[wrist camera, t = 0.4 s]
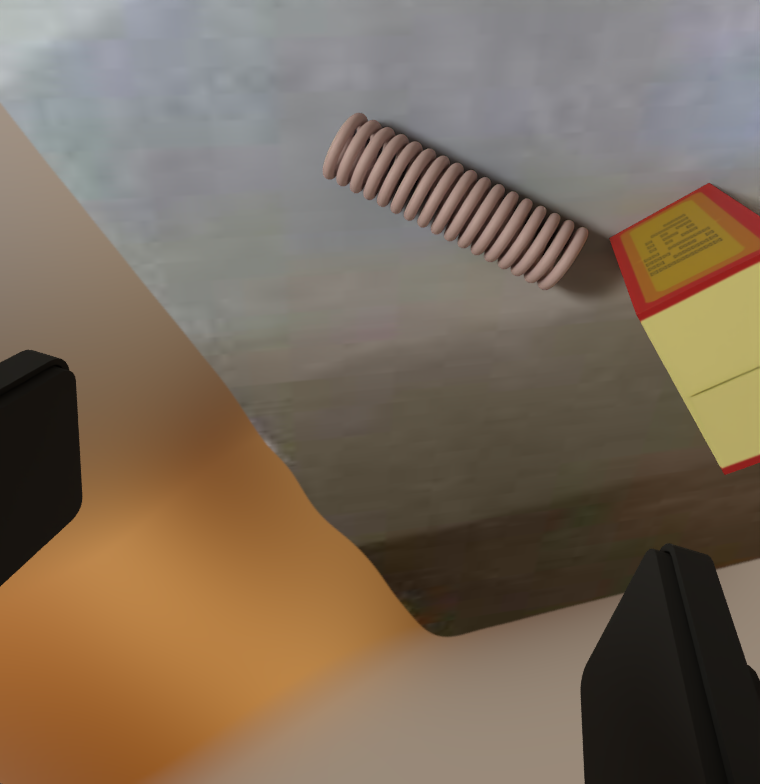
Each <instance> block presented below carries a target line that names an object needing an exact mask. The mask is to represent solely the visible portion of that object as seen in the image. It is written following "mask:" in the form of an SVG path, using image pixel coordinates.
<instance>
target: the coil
mask: <svg viewBox="0 0 760 784" xmlns="http://www.w3.org/2000/svg"><path fill="white" fill-rule="evenodd" d="M356 129H357V133H356V134H355V136H354V137H353V135H354V131H355V130H356ZM369 137H370V142H369V144H368V145H367V147H366V148H365V146H366V142H367V139H368V138H369ZM383 144H384V145H383ZM382 146H383V150H382V153H381V154H380V156H379V158H378V160H377V161H376V159H377V156H378V152H379V150H380V148H381V147H382ZM364 149H365V150H364ZM396 153H397V154H396ZM395 154H396V158H395V161H394V164H393V166H392V167H391V169H390V171H389V173H388V175H387V177H386V178H385V176H386V174H387V171H388V168H389V165H390V162H391V160H392V159H393V157H394V156H395ZM375 162H376V163H375ZM408 163H409V165H408ZM374 164H375V165H374ZM407 165H408V168H407V171H406V174H405V177H404V179H403V180H402V182H401V184H400V186H399V188H398V190H397V192H396V194H395V196H394V198H393V201H392V203H391V211H392V212H393V213H395V214H398V213H400V212H401V210H402V209H403V207H404V205H405V203H406V201H407V198H408V196H409V194H410V192H411V189H412V188H413V186H414V184H415V182H416V181H417V179H418V177H419V176H420V178H419V181H418V183H417V186H416V188H415V191H414V193H413V195H412V197H411V199H410V201H409V203H408V205H407V207H406V209H405V212H404V217H405V219H406V220H408V221H411V220H413V219H414V218H415V216H416V214H417V212H418V210H419V208H420V206H421V204H422V202H423V200H424V199H425V197H426V195H427V193H428V192H429V190H430V188H431V190H430V192H429V195H428V197H427V200H426V202H425V205H424V207H423V209H422V211H421V214H420V216H419V218H418V220H417V223H418V225H419V226H420V227H426V226H427V225H428V224H429V222H430V220H431V218H432V217H433V215H434V213H435V211H436V210H437V208H438V206H439V204H440V203H441V204H440V206H439V209H438V211H437V214H436V216H435V218H434V221H433V223H432V225H431V231H432V233H434V234H439V233H441V232H442V230H443V229H444V227H445V225H446V224H447V222H448V220H449V219H450V220H449V223H448V225H447V227H446V230H445V233H444V237H445V239H446V240H447V241H453V240H454V239H455V238H456V237H457V235H458V234H459V232H460V231H461V232H460V234H459V237H458V245H459V247H461V248H466V247H468V246H469V245H470V244H471V242H472V241H473V242H472V245H471V251H472V253H473V254H474V255H480V254H481V253H483V252H484V250H485V253H484V257H485V259H486V261H488V262H493V261H495V260H496V259H497V258H498V266H499V267H500V268H501V269H507V268H508V267H510V266H511V272H512V274H513V275H515V276H520V275H522V274H524V278H525V280H526V281H527V282H529V283H534V282H536V281H537V283H538V286H539V288H541V289H542V290H548V289H550V288H551V287H553V286H554V285H555V284H556V283H557V282H558V281H559V280H560V279H561V278H562V277H563V276H564V274H565V273H566V272H567V270H568V269H569V268H570V266H571V265H572V263H573V262H574V260H575V259H576V257H577V256H578V254H579V252H580V251H581V249H582V247H583V246H584V244H585V242H586V240H587V237H588V230H587V229H586V228H585V227H580V228H578V229H577V230H576V232H575V233H574V234H573V236H572V238H571V239H570V241H569V243H568V244H567V246H566V248H565V250H564V252H563V254H562V257H561V259H560V260H559V262H558V263H557V264H556V266H555V267H554V268H553V266H554V263H555V261H556V259H557V257H558V255H559V254H560V252H561V251H562V249H563V248H564V246H565V244H566V243H567V241H568V239H569V238H570V236H571V234H572V232H573V230H574V222H573V221H571V220H566V221H564V222H563V224H562V225H561V227H560V228H559V230H558V232H557V233H556V235H555V237H554V239H553V241H552V243H551V245H550V247H549V248H548V250H547V251H546V253H545V254H544V255H543V257H542V254H543V252H544V250H545V248H546V246H547V244H548V241H549V240H550V238H551V236H552V235H553V233H554V231H555V230H556V228H557V226H558V224H559V222H560V215H559V214H557V213H552V214H550V216H549V217H548V219H547V220H546V222H545V224H544V226H543V227H542V229H541V231H540V232H539V234H538V236H537V237H536V239H535V240H534V242H533V243H532V241H533V239H534V236H535V234H536V232H537V230H538V228H539V226H540V224H541V222H542V220H543V219H544V217H545V215H546V208H545V207H544V206H538V207H536V209H535V210H534V211H533V213H532V215H531V216H530V218H529V220H528V221H527V223H526V225H525V226H524V228H523V229H522V227H523V225H524V223H525V221H526V219H527V217H528V215H529V213H530V211H531V208H532V205H533V203H532V201H531V200H530V199H524V200H522V201H521V203H520V204H519V206H518V207H517V209H516V210H515V212H514V214H513V211H514V209H515V207H516V205H517V202H518V198H519V196H518V194H517V193H516V192H513V191H511V192H509V193H508V194H507V195H506V197H505V198H504V200H503V201H502V199H503V196H504V193H505V188H504V186H502V185H501V184H497V185H495V186H494V187H493V188H492V189H491V191H490V187H491V181H490V179H489V178H487V177H483V178H481V179H480V180H479V181H478V182H477V173H476V172H475V171H474V170H469V171H467V172H465V173H464V174H463V171H464V169H463V166H462V165H461V164H460V163H454V164H452V165H451V166H450V161H449V158H448V157H446V156H440V157H438V158H437V159H436V153H435V151H434V150H433V149H426V150H424V151H423V148H422V145H421V144H420V143H419V142H416V141H414V142H411V143H409V140H408V138H407V137H406V136H405V135H403V134H399V135H397V136H395V133H394V130H393V129H391V128H389V127H384V128H383V129H382V128H381V125H380V123H379V122H378V121H376V120H370V121H368V119H367V117H366V116H365V115H364V114H362V113H356V114H354V115H352V116H351V117H349V118H348V119H347V120H346V121H345V123H344V124H343V125H342V127H341V128H340V130H339V131H338V133H337V135H336V136H335V138H334V140H333V142H332V144H331V146H330V148H329V150H328V153H327V155H326V158H325V161H324V165H323V175H324V177H325V178H327V179H333V178H334V177H336V176H337V177H336V178H337V183H338V184H339V185H340V186H346V185H347V184H349V182H350V181H351V182H350V189H351V191H352V192H354V193H359V192H360V191H362V189H363V188H364V186H365V188H364V197H365V198H366V199H367V200H372V199H373V198H375V196H376V195H377V193H378V191H379V189H380V187H381V185H382V183H383V181H384V183H383V185H382V187H381V189H380V191H379V194H378V197H377V203H378V205H379V206H381V207H385V206H387V205H388V203H389V202H390V200H391V198H392V196H393V194H394V192H395V190H396V187H397V185H398V183H399V180H400V178H401V175H402V173H403V171H404V170H405V168H406V166H407ZM420 174H421V175H420ZM384 178H385V180H384ZM476 182H477V183H476ZM365 184H366V185H365ZM489 191H490V192H489ZM441 201H442V202H441ZM501 201H502V203H501ZM512 214H513V215H512ZM511 216H512V217H511ZM450 217H451V218H450ZM521 229H522V231H521ZM531 243H532V245H531ZM530 245H531V246H530ZM529 247H530V248H529ZM541 257H542V258H541ZM540 259H541V260H540ZM552 268H553V270H552Z"/></svg>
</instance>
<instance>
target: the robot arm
mask: <svg viewBox="0 0 760 784" xmlns="http://www.w3.org/2000/svg"><path fill="white" fill-rule="evenodd" d="M81 503H82V483H81V464H80V446H79V429H78V412H77V394H76V379H75V376H74V374H73V373H72V372H71V371H69V367H68V365H67V363H66V362H65V361H64V360H62V359H59V358H56V357H53V356H50V355H47V354H43V353H40V352H37V351H33V350H25V351H22V352H20V353H18V354H16V355H14V356H12V357H10V358H8V359H6V360H4V361H2V362H1V363H0V586H1V585H2V584H3V583H4V582H5V581H7V580H8V579H9V578H10V577H11V576H12V575H13V574H14V573H15V572H16V571H17V570H19V569H20V568H21V567H22V566H23V565H24V564H25V563H26V562H27V561H28V560H29V559H30V558H32V557H33V556H34V555H35V554H36V553H37V552H38V551H39V550H40V549H41V548H42V547H43V546H44V545H46V544H47V543H48V542H49V541H50V540H51V539H52V538H53V537H54V536H55V535H56V534H58V533H59V532H60V531H61V530H62V529H63V528H64V527H65V526H66V525H67V524H68V523H69V522H71V520H72V519H73V518H74V517H75V516H76V514H77V513H78V511H79V509H80V507H81ZM581 712H582V734H583V756H584V778H585V784H760V680H759V678H758V676H757V674H756V672H755V671H754V670H753V669H752V668H751V667H750V666H749V665H747V663H746V660H745V656H744V653H743V651H742V647H741V644H740V641H739V638H738V636H737V632H736V630H735V626H734V623H733V621H732V617H731V614H730V611H729V608H728V605H727V602H726V599H725V596H724V593H723V590H722V587H721V584H720V581H719V578H718V575H717V572H716V569H715V566H714V563H713V561H712V559H711V557H709V556H708V555H706V554H703V553H699V552H696V551H693V550H689V549H686V548H683V547H680V546H676V545H673V544H670V543H669V544H665V545H664V546H663V547H662V548H661V549H660V551H658V550H655V549H649V550H648V551H647V552H646V554H645V555H644V557H643V559H642V561H641V563H640V565H639V567H638V569H637V570H636V572H635V574H634V576H633V578H632V580H631V582H630V583H629V585H628V587H627V589H626V591H625V593H624V595H623V597H622V599H621V600H620V602H619V604H618V606H617V608H616V610H615V612H614V613H613V615H612V617H611V619H610V621H609V623H608V625H607V627H606V628H605V630H604V632H603V634H602V636H601V638H600V640H599V642H598V643H597V645H596V647H595V649H594V651H593V653H592V655H591V656H590V658H589V660H588V662H587V664H586V666H585V669H584V672H583V675H582V680H581ZM0 784H1V783H0Z"/></svg>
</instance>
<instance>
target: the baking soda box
mask: <svg viewBox="0 0 760 784" xmlns="http://www.w3.org/2000/svg"><path fill="white" fill-rule="evenodd" d="M609 239H610V242H611V245H612V248H613V250H614V253H615V256H616V259H617V262H618V264H619V267H620V270H621V273H622V276H623V278H624V281H625V284H626V287H627V289H628V292H629V295H630V298H631V301H632V303H633V306H634V309H635V312H636V315H637V316H638V318H639V320H640V322H641V324H642V326H643V327H644V329H645V331H646V333H647V335H648V336H649V338H650V340H651V342H652V344H653V346H654V347H655V349H656V351H657V353H658V355H659V356H660V358H661V360H662V362H663V364H664V366H665V367H666V369H667V371H668V373H669V375H670V376H671V378H672V380H673V382H674V384H675V386H676V387H677V389H678V391H679V393H680V395H681V396H682V398H683V400H684V402H685V404H686V406H687V407H688V409H689V411H690V413H691V415H692V416H693V418H694V420H695V422H696V424H697V426H698V427H699V429H700V431H701V433H702V435H703V436H704V438H705V440H706V442H707V444H708V445H709V447H710V449H711V451H712V453H713V455H714V456H715V458H716V460H717V462H718V464H719V465H720V467H721V469H722V471H723V473H724V475H726V474H728V473H731V472H734V471H737V470H740V469H743V468H745V467H748V466H751V465H754V464H757V463H760V216H758V215H757V214H755V213H754V212H752V211H751V210H749V209H748V208H746V207H745V206H743V205H742V204H740V203H739V202H737V201H736V200H734V199H733V198H731V197H730V196H728V195H727V194H725V193H724V192H722V191H721V190H719V189H718V188H716V187H715V186H713V185H712V184H710V183H708V184H706V185H704V186H703V187H701V188H699V189H697V190H695V191H693V192H692V193H690V194H688V195H686V196H684V197H683V198H681V199H679V200H677V201H675V202H674V203H672V204H670V205H668V206H666V207H665V208H663V209H661V210H659V211H657V212H656V213H654V214H652V215H650V216H648V217H647V218H645V219H643V220H641V221H639V222H638V223H636V224H634V225H632V226H630V227H629V228H627V229H625V230H623V231H621V232H619V233H618V234H616V235H614V236H612V237H610V238H609Z"/></svg>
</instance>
